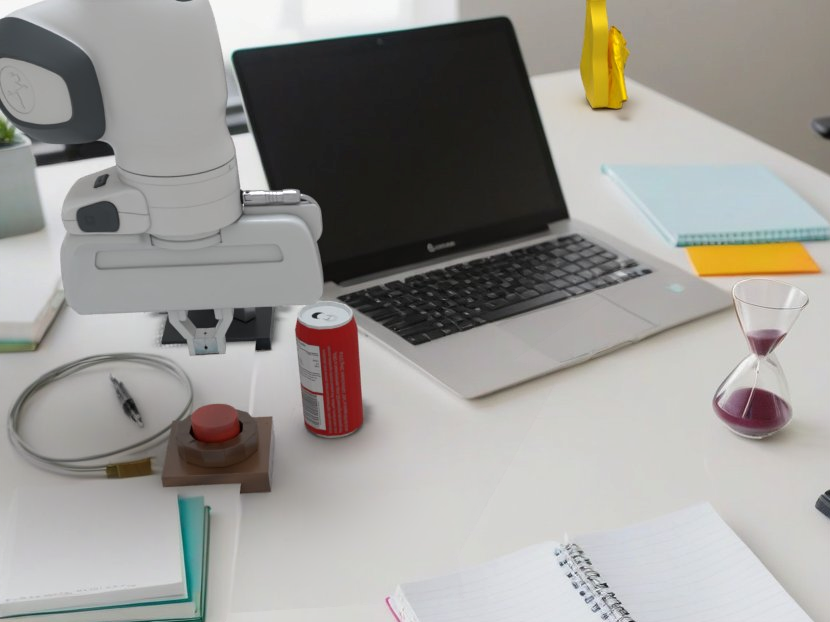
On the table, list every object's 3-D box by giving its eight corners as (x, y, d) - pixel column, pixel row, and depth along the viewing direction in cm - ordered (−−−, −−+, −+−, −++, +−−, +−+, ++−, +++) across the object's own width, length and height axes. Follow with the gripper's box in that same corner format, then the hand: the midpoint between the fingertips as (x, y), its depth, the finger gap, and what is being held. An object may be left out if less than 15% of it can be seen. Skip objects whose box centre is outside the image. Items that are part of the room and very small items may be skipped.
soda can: (372, 415, 111) (365, 302, 104) (349, 445, 107) (340, 329, 100) (319, 404, 112) (309, 292, 105) (294, 434, 108) (282, 319, 101)
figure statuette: (636, 121, 182) (650, -30, 168) (587, 122, 181) (597, -30, 167) (613, 86, 196) (624, -56, 182) (568, 87, 195) (576, -56, 181)
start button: (191, 445, 100) (188, 428, 99) (195, 421, 103) (193, 404, 102) (238, 443, 100) (236, 426, 99) (241, 419, 103) (239, 402, 102)
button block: (165, 498, 100) (157, 459, 97) (176, 440, 107) (169, 403, 104) (270, 492, 101) (266, 454, 98) (274, 436, 108) (270, 399, 105)
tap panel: (281, 349, 121) (280, 335, 120) (152, 354, 119) (149, 340, 118) (285, 289, 132) (284, 276, 131) (167, 293, 130) (165, 280, 129)
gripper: (319, 173, 92) (333, 328, 100) (54, 182, 90) (90, 339, 98) (318, 204, 87) (333, 364, 95) (38, 214, 85) (78, 377, 93)
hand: (208, 352), depth 97 cm, fingers closed
